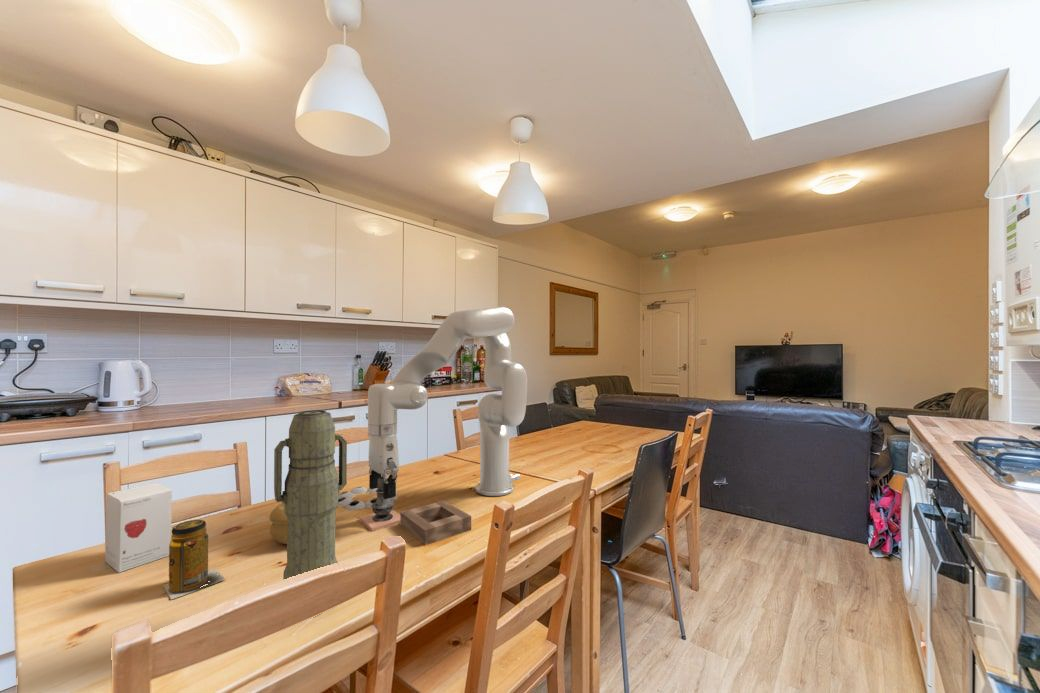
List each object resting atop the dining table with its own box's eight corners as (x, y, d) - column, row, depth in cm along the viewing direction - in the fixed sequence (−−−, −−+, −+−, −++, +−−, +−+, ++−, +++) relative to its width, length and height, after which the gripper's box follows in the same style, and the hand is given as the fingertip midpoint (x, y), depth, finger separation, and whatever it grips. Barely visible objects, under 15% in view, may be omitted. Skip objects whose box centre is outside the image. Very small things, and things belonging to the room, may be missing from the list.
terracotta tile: (391, 511, 118) (391, 508, 118) (405, 521, 111) (405, 518, 111) (359, 520, 112) (359, 517, 112) (371, 531, 105) (371, 528, 105)
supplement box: (117, 574, 85) (118, 501, 85) (103, 562, 89) (104, 493, 89) (172, 555, 92) (173, 488, 92) (157, 545, 97) (157, 481, 97)
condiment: (163, 586, 81) (163, 524, 81) (215, 568, 87) (215, 511, 87) (171, 600, 76) (171, 535, 76) (225, 581, 82) (226, 521, 82)
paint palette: (342, 517, 115) (342, 510, 115) (324, 497, 130) (324, 491, 130) (409, 501, 127) (409, 494, 127) (385, 484, 142) (385, 478, 142)
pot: (330, 540, 100) (330, 499, 100) (274, 556, 92) (275, 511, 92) (316, 524, 109) (316, 486, 109) (264, 537, 101) (265, 497, 101)
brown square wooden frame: (443, 512, 117) (443, 500, 117) (471, 529, 106) (471, 516, 106) (400, 525, 108) (400, 512, 108) (425, 545, 98) (425, 530, 98)
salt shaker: (386, 523, 108) (387, 477, 108) (366, 521, 109) (367, 475, 109) (398, 514, 114) (398, 470, 114) (378, 512, 115) (379, 469, 115)
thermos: (354, 599, 76) (355, 411, 77) (284, 631, 68) (285, 418, 68) (333, 580, 82) (335, 406, 83) (267, 608, 74) (268, 413, 74)
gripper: (409, 432, 107) (409, 498, 107) (383, 423, 120) (383, 482, 120) (381, 436, 102) (381, 505, 102) (357, 426, 116) (357, 487, 115)
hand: (382, 492), depth 111 cm, fingers open, 9 cm apart
